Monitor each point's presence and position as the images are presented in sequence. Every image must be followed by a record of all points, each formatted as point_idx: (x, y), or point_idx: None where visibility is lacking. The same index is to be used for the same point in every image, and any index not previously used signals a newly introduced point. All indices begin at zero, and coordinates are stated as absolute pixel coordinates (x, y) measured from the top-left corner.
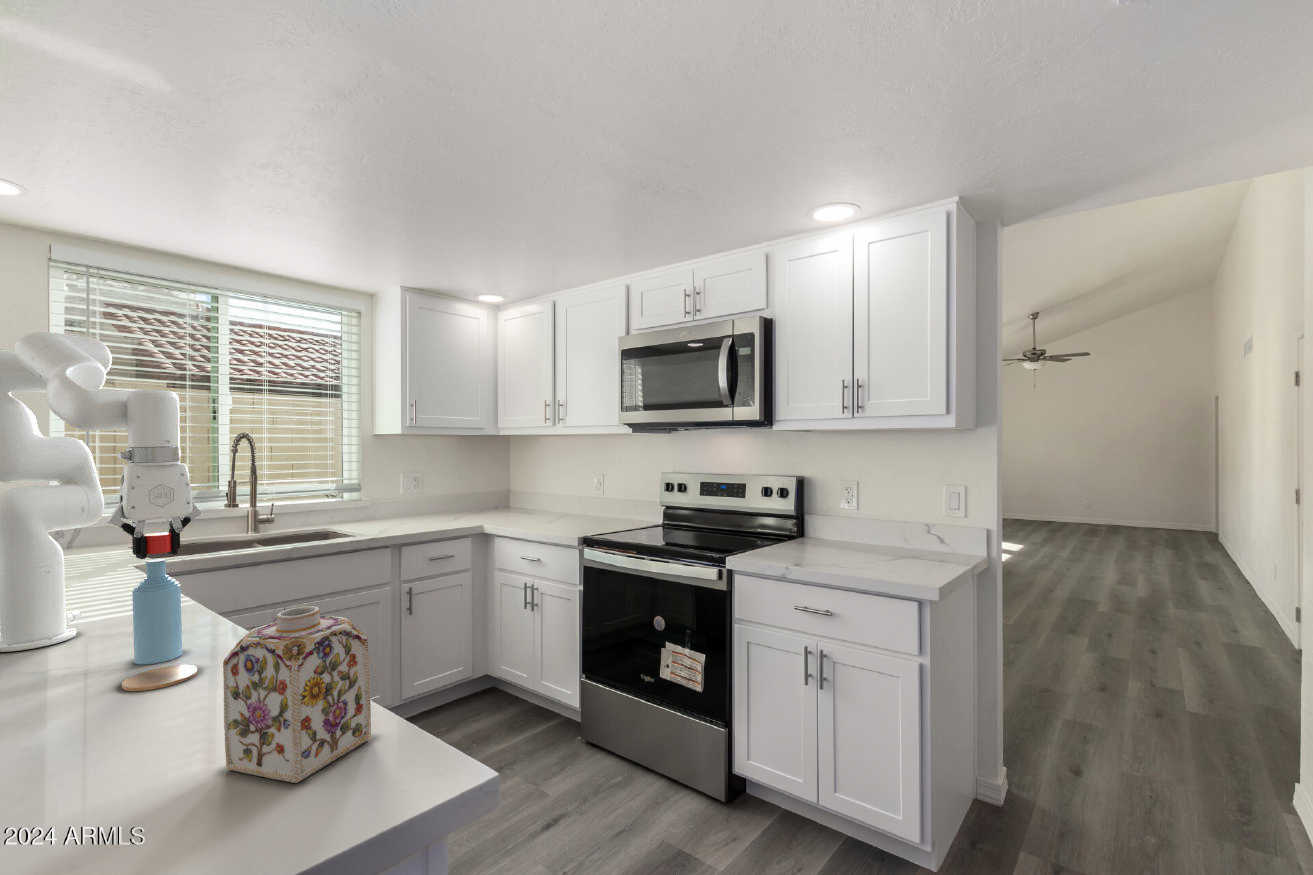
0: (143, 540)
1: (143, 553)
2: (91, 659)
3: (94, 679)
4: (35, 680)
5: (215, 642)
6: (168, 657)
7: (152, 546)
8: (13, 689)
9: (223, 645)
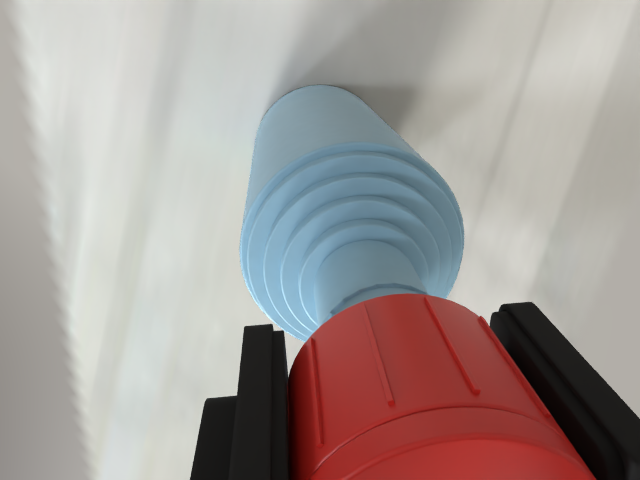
0: (623, 424)
1: (540, 326)
2: None
3: (505, 77)
4: (580, 220)
5: (144, 180)
6: (309, 87)
7: (497, 353)
8: (637, 180)
9: (131, 112)
